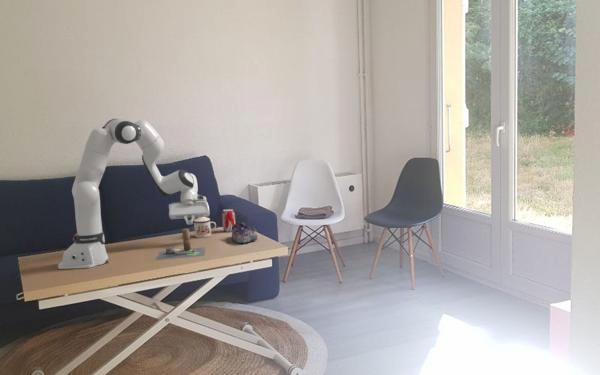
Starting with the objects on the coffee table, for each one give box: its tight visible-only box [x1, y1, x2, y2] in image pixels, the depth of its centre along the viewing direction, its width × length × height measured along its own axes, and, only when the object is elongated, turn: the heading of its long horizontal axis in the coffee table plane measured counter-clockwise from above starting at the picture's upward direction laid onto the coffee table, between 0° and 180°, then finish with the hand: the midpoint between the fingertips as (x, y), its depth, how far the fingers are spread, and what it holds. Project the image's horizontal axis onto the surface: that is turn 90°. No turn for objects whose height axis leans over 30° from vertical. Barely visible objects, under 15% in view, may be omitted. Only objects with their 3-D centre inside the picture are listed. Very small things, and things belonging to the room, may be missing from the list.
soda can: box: [221, 208, 236, 233], centre depth 324 cm, size 7×7×12 cm
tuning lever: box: [165, 228, 196, 254], centre depth 272 cm, size 15×4×11 cm, turn 72°
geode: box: [231, 220, 258, 245], centre depth 300 cm, size 20×12×10 cm, turn 28°
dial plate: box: [155, 246, 206, 261], centre depth 273 cm, size 22×17×2 cm
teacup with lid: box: [193, 217, 217, 239], centre depth 315 cm, size 12×9×12 cm
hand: (189, 223), depth 288 cm, fingers closed
